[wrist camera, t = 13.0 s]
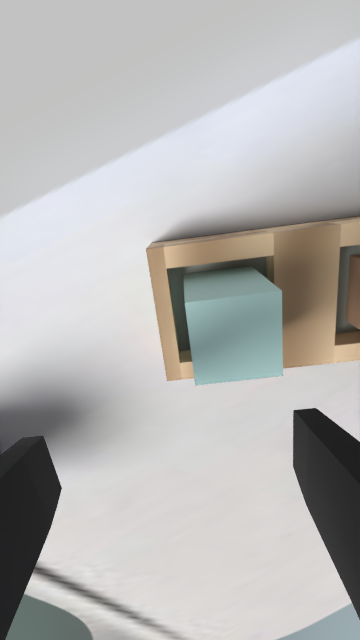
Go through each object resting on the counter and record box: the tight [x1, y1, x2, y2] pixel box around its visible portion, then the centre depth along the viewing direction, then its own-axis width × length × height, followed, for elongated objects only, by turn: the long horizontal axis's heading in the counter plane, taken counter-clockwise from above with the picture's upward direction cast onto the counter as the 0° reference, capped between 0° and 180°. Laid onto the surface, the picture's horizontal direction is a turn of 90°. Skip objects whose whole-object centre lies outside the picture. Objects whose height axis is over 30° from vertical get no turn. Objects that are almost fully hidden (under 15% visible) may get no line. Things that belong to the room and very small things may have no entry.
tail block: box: [183, 266, 283, 385], centre depth 14 cm, size 4×4×5 cm
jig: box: [146, 216, 360, 381], centre depth 16 cm, size 18×7×3 cm, turn 97°
